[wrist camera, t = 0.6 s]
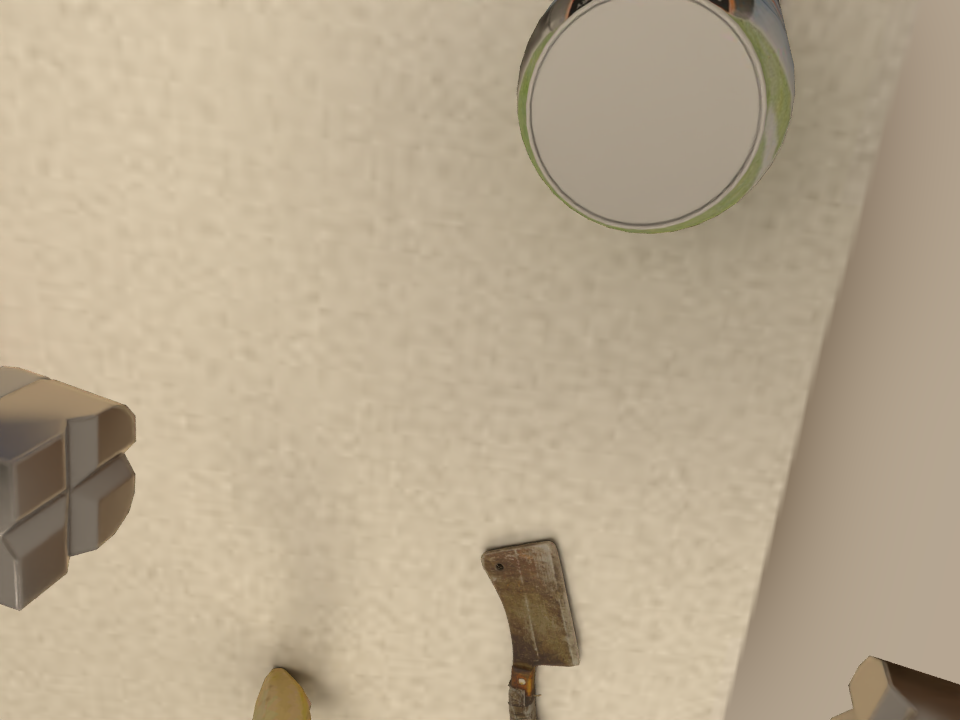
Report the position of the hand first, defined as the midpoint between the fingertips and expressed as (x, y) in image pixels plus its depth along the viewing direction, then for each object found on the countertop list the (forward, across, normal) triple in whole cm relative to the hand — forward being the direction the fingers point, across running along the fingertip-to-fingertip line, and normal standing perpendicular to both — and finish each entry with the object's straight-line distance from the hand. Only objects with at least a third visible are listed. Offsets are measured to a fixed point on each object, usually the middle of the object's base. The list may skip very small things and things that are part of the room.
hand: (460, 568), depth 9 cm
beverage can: (+22, 0, -5) cm, 23 cm away
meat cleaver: (+22, 0, +20) cm, 30 cm away
